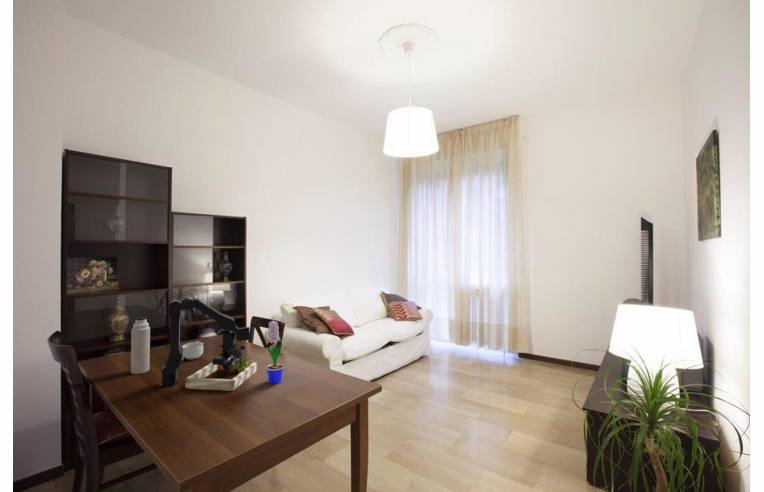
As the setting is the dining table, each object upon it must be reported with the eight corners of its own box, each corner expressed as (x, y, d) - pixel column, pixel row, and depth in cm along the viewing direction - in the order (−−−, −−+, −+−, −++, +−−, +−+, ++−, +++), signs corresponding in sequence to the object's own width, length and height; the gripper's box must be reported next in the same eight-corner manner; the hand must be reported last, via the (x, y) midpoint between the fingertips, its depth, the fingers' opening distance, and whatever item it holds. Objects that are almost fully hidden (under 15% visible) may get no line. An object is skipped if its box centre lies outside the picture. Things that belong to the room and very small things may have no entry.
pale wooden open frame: (233, 390, 156) (233, 380, 156) (185, 388, 157) (185, 378, 157) (256, 370, 180) (256, 362, 180) (214, 369, 182) (214, 360, 182)
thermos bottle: (139, 367, 182) (140, 315, 182) (153, 368, 181) (154, 316, 181) (126, 373, 174) (127, 318, 174) (141, 374, 173) (142, 319, 173)
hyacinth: (281, 386, 162) (282, 323, 161) (261, 384, 164) (262, 321, 163) (289, 379, 170) (290, 319, 170) (271, 377, 172) (272, 318, 172)
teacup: (196, 361, 193) (196, 347, 193) (177, 360, 194) (178, 346, 194) (209, 353, 207) (209, 340, 207) (192, 353, 208) (192, 339, 208)
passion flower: (227, 382, 179) (217, 359, 182) (249, 372, 188) (239, 350, 191) (234, 375, 171) (224, 351, 174) (257, 364, 180) (246, 342, 183)
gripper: (234, 348, 163) (233, 380, 163) (251, 337, 181) (251, 367, 181) (211, 347, 164) (211, 379, 164) (231, 337, 182) (231, 366, 182)
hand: (227, 372), depth 173 cm, fingers closed
